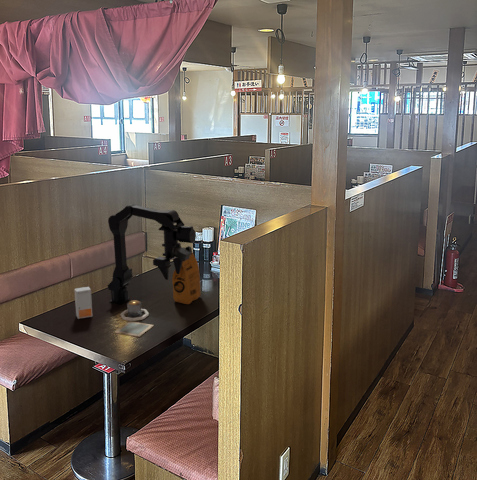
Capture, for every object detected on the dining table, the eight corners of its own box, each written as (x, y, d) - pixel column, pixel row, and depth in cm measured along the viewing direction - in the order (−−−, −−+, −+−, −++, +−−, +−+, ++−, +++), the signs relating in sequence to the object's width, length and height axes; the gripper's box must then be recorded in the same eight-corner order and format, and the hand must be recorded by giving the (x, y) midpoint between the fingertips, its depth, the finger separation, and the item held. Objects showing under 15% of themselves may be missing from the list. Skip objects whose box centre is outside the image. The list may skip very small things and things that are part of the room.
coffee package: (170, 302, 228) (166, 255, 222) (186, 292, 238) (182, 247, 232) (188, 305, 223) (185, 258, 217) (204, 295, 234) (201, 249, 227)
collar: (116, 318, 210) (116, 316, 210) (130, 308, 220) (130, 307, 220) (139, 322, 206) (139, 320, 206) (152, 312, 216) (152, 310, 216)
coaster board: (114, 332, 197) (114, 331, 197) (129, 321, 207) (129, 320, 207) (139, 337, 193) (139, 336, 193) (153, 325, 203) (153, 324, 203)
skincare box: (78, 319, 209) (75, 291, 206) (76, 315, 213) (73, 288, 209) (93, 316, 212) (91, 289, 209) (90, 313, 215) (89, 286, 212)
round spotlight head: (124, 317, 211) (123, 304, 209) (133, 311, 217) (132, 298, 216) (136, 319, 209) (135, 306, 207) (145, 313, 216) (144, 300, 214)
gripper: (174, 248, 200) (175, 286, 204) (199, 238, 216) (200, 273, 220) (151, 245, 205) (153, 282, 209) (177, 235, 221) (178, 269, 225)
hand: (172, 276), depth 216 cm, fingers open, 8 cm apart
